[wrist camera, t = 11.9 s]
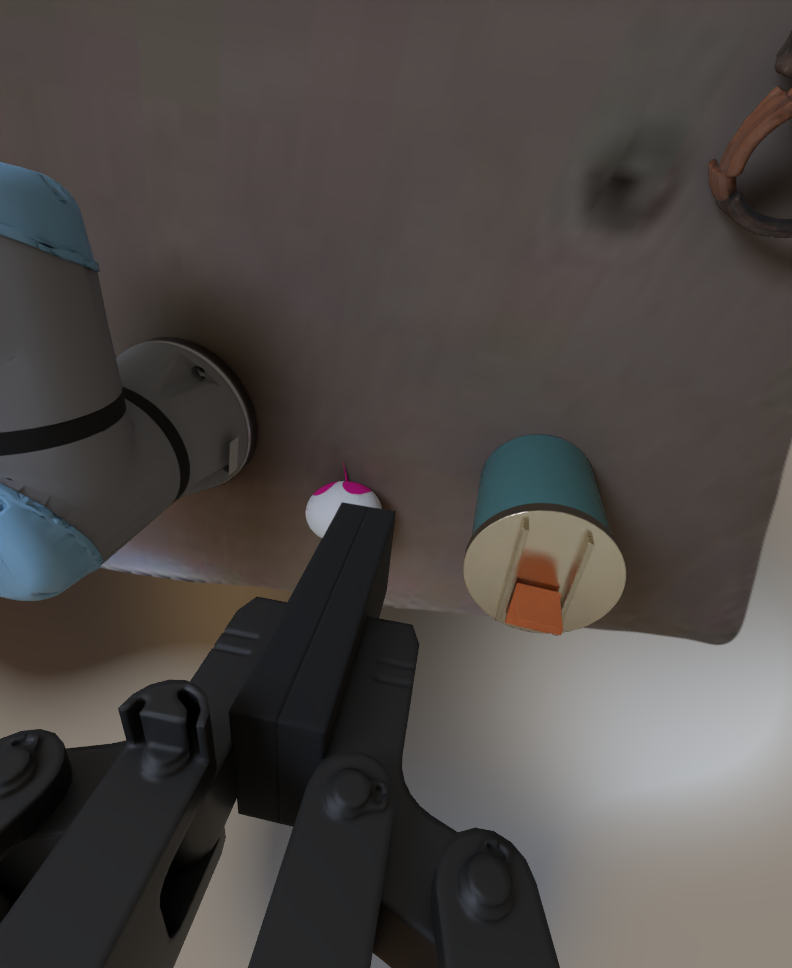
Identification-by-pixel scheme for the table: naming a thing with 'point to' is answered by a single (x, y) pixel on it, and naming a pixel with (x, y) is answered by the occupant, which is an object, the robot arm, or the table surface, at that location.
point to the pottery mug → (738, 151)
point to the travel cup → (543, 533)
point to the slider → (535, 609)
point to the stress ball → (336, 502)
